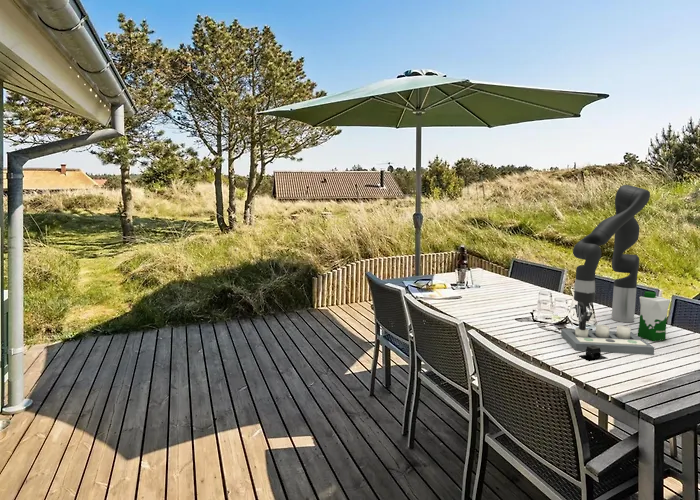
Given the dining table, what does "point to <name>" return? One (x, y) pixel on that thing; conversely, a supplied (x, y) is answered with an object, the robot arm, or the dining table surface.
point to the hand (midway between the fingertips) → (582, 329)
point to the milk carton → (653, 317)
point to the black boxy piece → (593, 354)
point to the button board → (613, 348)
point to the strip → (610, 341)
